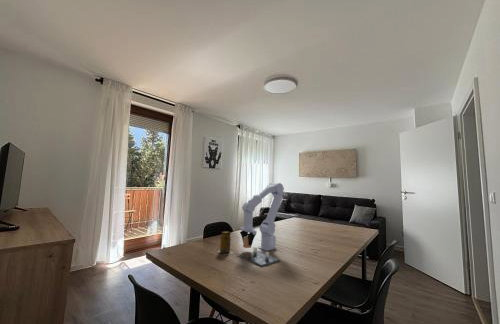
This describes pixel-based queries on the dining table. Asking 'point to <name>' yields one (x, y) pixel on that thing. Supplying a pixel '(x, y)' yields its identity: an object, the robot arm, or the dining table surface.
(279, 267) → the dining table surface
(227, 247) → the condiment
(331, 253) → the dining table surface
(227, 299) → the dining table surface
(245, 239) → the knob
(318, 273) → the dining table surface
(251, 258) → the hub plate
